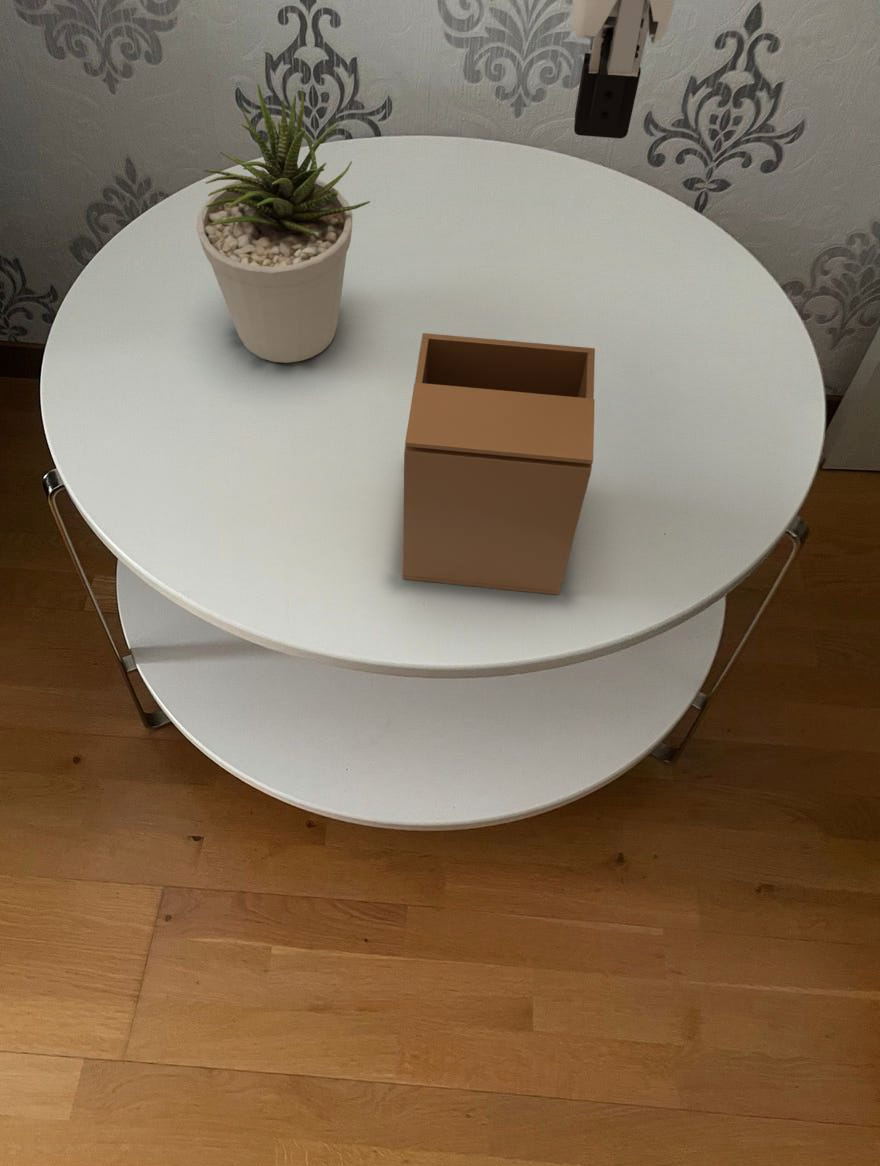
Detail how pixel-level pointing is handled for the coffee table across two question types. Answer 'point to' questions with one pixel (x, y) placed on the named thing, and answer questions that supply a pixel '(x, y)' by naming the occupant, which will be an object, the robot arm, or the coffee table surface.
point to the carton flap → (501, 423)
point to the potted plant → (279, 244)
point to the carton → (494, 476)
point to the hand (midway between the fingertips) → (600, 128)
